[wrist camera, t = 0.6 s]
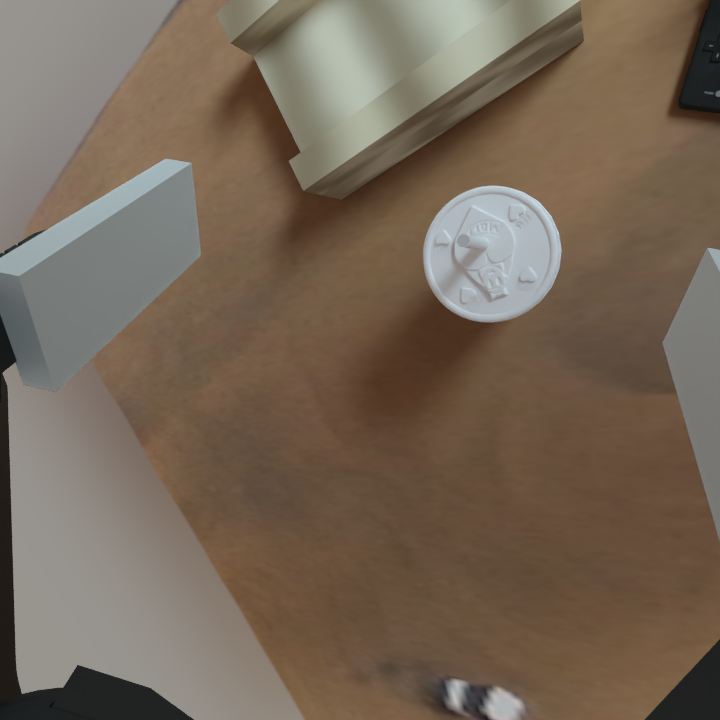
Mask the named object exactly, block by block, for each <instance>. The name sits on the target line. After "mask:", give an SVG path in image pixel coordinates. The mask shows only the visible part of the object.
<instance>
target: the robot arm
mask: <svg viewBox="0 0 720 720" xmlns="http://www.w3.org/2000/svg"><path fill="white" fill-rule="evenodd" d="M200 256H201V250H200V240H199V231H198V221H197V211H196V201H195V191H194V182H193V172H192V163H188V162H182V161H176V160H170V159H164V160H163V161H161V162H159V163H158V164H156V165H154V166H153V167H151V168H149V169H148V170H146V171H144V172H143V173H141V174H139V175H138V176H136V177H134V178H133V179H131V180H129V181H128V182H126V183H124V184H123V185H121V186H119V187H118V188H116V189H114V190H113V191H111V192H109V193H108V194H106V195H104V196H103V197H101V198H99V199H98V200H96V201H94V202H93V203H91V204H89V205H88V206H86V207H84V208H82V209H81V210H79V211H77V212H76V213H74V214H72V215H71V216H69V217H67V218H66V219H64V220H62V221H61V222H59V223H57V224H56V225H54V226H52V227H51V228H49V229H46V230H43V231H40V232H37V233H34V234H33V235H31V236H29V237H28V238H26V239H24V240H23V241H21V242H19V243H18V246H17V245H14V246H12V247H11V248H9V249H7V250H6V251H5V253H4V254H3V253H1V254H0V720H193V719H192V718H191V717H189V716H187V715H186V714H185V713H184V712H182V711H181V710H180V709H178V708H177V707H176V706H174V705H173V704H171V703H170V702H168V701H167V700H166V699H164V698H163V697H162V696H160V695H159V694H158V693H156V692H155V691H154V690H152V689H151V688H148V687H145V686H142V685H139V684H135V683H132V682H129V681H126V680H123V679H120V678H117V677H114V676H110V675H107V674H104V673H101V672H98V671H95V670H92V669H88V668H85V667H82V666H79V665H77V667H76V669H75V670H74V672H73V673H72V675H71V677H70V678H69V680H68V681H67V683H66V684H65V686H64V687H63V688H53V689H45V690H37V691H33V692H29V693H25V694H22V693H21V689H20V686H19V682H18V677H17V671H16V656H15V624H14V590H13V556H12V526H11V525H12V523H11V492H10V491H11V490H10V457H9V425H8V391H7V385H6V382H5V379H4V376H3V374H2V373H3V372H4V371H5V370H6V369H7V368H9V367H10V366H11V365H12V364H14V363H15V362H16V365H17V368H18V370H19V373H20V376H21V379H22V382H23V384H24V385H27V386H31V387H35V388H39V389H44V390H48V391H52V392H57V391H58V390H59V389H60V388H61V387H62V386H63V385H64V384H65V383H66V382H67V381H68V380H69V379H70V378H71V377H72V376H73V375H74V374H76V373H77V372H78V371H79V370H80V369H81V368H82V367H83V366H84V365H85V364H86V363H87V362H88V361H90V360H91V359H92V358H93V357H94V356H95V355H96V354H97V353H98V352H99V351H100V350H101V349H102V348H103V347H104V346H105V345H107V344H108V343H109V342H110V341H111V340H112V339H113V338H114V337H115V336H116V335H117V334H118V333H119V332H120V331H121V330H122V329H123V328H125V327H126V326H127V325H128V324H129V323H130V322H131V321H132V320H133V319H134V318H135V317H136V316H137V315H138V314H139V313H140V312H142V311H143V310H144V309H145V308H146V307H147V306H148V305H149V304H150V303H151V302H152V301H153V300H154V299H155V298H156V297H157V296H158V295H160V294H161V293H162V292H163V291H164V290H165V289H166V288H167V287H168V286H169V285H170V284H171V283H172V282H173V281H174V280H175V279H177V278H178V277H179V276H180V275H181V274H182V273H183V272H184V271H185V270H186V269H187V268H188V267H189V266H190V265H191V264H192V263H194V262H195V261H196V260H197V259H198V258H199V257H200ZM663 347H664V350H665V354H666V357H667V361H668V364H669V368H670V371H671V375H672V378H673V382H674V385H675V389H676V392H677V395H678V399H679V402H680V406H681V409H682V413H683V416H684V420H685V423H686V427H687V430H688V434H689V437H690V440H691V444H692V447H693V451H694V454H695V458H696V461H697V465H698V468H699V472H700V475H701V479H702V482H703V486H704V489H705V492H706V496H707V499H708V503H709V506H710V510H711V513H712V517H713V520H714V524H715V527H716V531H717V534H718V537H719V541H720V250H718V249H712V248H707V249H706V251H705V253H704V256H703V258H702V260H701V262H700V264H699V266H698V268H697V271H696V273H695V275H694V277H693V279H692V281H691V283H690V285H689V288H688V290H687V292H686V294H685V296H684V298H683V300H682V302H681V305H680V307H679V309H678V311H677V313H676V315H675V317H674V319H673V322H672V324H671V326H670V328H669V330H668V332H667V334H666V337H665V339H664V341H663ZM645 720H720V640H719V641H718V642H717V643H716V644H715V645H714V646H713V647H712V648H711V649H710V650H709V651H708V653H707V654H706V655H705V656H704V657H703V658H702V659H701V660H700V661H699V662H698V663H697V664H696V665H695V666H694V667H693V669H692V670H691V671H690V672H689V673H688V674H687V675H686V676H685V677H684V678H683V679H682V680H681V681H680V682H679V684H678V685H677V686H676V687H675V688H674V689H673V690H672V691H671V692H670V693H669V694H668V695H667V696H666V697H665V698H664V700H663V701H662V702H661V703H660V704H659V705H658V706H657V707H656V708H655V709H654V710H653V711H652V712H651V713H650V714H649V716H648V717H647V718H646V719H645Z"/></svg>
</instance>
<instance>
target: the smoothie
mask: <svg viewBox="0 0 720 720" xmlns="http://www.w3.org/2000/svg"><path fill="white" fill-rule="evenodd" d="M561 251H562V250H561V244H560V237H559V232H558V230H557V228H556V225H555V223H554V221H553V219H552V217H551V215H550V214H549V213H548V212H547V210H546V209H545V208H544V207H543V206H542V205H541V204H540V202H538V201H537V200H535V199H534V198H532V197H531V196H529V195H527V194H526V193H524V192H521V191H518V190H515V189H512V188H509V187H503V186H484V187H478V188H474V189H471V190H469V191H466V192H464V193H462V194H460V195H458V196H457V197H455V198H454V199H452V200H451V201H450V202H448V203H447V204H446V205H445V206H444V207H443V208H442V209H441V210H440V212H439V213H438V214H437V215H436V217H435V218H434V220H433V222H432V223H431V225H430V227H429V230H428V232H427V235H426V238H425V242H424V248H423V265H424V271H425V275H426V278H427V281H428V284H429V286H430V288H431V290H432V291H433V293H434V294H435V296H436V297H437V299H438V300H439V301H440V302H441V303H442V304H443V305H444V306H445V307H446V308H448V309H449V310H450V311H452V312H453V313H455V314H457V315H459V316H461V317H463V318H466V319H469V320H473V321H478V322H499V321H505V320H511V319H513V318H515V317H518V316H520V315H522V314H524V313H527V312H528V311H529V310H531V309H532V308H533V307H534V306H536V305H537V304H538V303H539V302H541V301H542V299H543V298H544V297H545V295H546V294H547V293H548V291H549V290H550V289H551V287H552V286H553V283H554V281H555V278H556V276H557V273H558V271H559V267H560V259H561Z"/></svg>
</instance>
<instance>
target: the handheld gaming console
mask: <svg viewBox="0 0 720 720" xmlns="http://www.w3.org/2000/svg"><path fill="white" fill-rule="evenodd" d="M679 107H680V108H683V109H690V110H698V111H706V112H714V113H720V0H710V3H709V7H708V9H706V13H705V16H704V19H703V22H702V25H701V28H700V35H699V38H698V41H697V44H696V48H695V51H694V54H693V57H692V60H691V63H690V66H689V70H688V73H687V76H686V79H685V82H684V85H683V88H682V92H681V95H680V98H679Z"/></svg>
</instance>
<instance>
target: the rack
mask: <svg viewBox="0 0 720 720" xmlns="http://www.w3.org/2000/svg"><path fill="white" fill-rule="evenodd" d="M216 15H217V17H218V19H219V21H220V23H221V25H222V27H223V29H224V31H225V33H226V35H227V37H228V39H229V41H230V43H231V44H233V45H235V46H236V47H238V48H240V49H242V50H243V51H245V52H247V53H248V54H250V55H252V56H253V57H254V59H255V61H256V63H257V65H258V67H259V69H260V71H261V73H262V75H263V77H264V79H265V81H266V83H267V85H268V87H269V89H270V91H271V93H272V95H273V97H274V99H275V101H276V103H277V105H278V108H279V110H280V112H281V114H282V116H283V118H284V120H285V122H286V124H287V126H288V128H289V130H290V132H291V134H292V136H293V138H294V140H295V142H296V144H297V146H298V148H299V150H300V152H301V153H299V154H298V155H296V156H295V157H294V158H292V159H291V160H290V161H289V163H290V165H291V167H292V169H293V171H294V173H295V175H296V177H297V179H298V181H299V183H300V185H301V187H302V189H303V191H306V192H310V193H314V194H318V195H322V196H327V197H331V198H335V199H339V200H342V199H343V198H345V197H346V196H348V195H350V194H351V193H353V192H354V191H356V190H357V189H359V188H360V187H362V186H363V185H365V184H366V183H368V182H369V181H371V180H372V179H374V178H375V177H377V176H378V175H380V174H381V173H383V172H385V171H386V170H388V169H389V168H391V167H392V166H394V165H395V164H397V163H398V162H400V161H401V160H403V159H404V158H406V157H407V156H409V155H410V154H412V153H413V152H415V151H416V150H418V149H420V148H421V147H423V146H424V145H426V144H427V143H429V142H430V141H432V140H433V139H435V138H436V137H438V136H439V135H441V134H442V133H444V132H445V131H447V130H448V129H450V128H451V127H453V126H454V125H456V124H458V123H459V122H461V121H462V120H464V119H465V118H467V117H468V116H470V115H471V114H473V113H474V112H476V111H477V110H479V109H480V108H482V107H483V106H485V105H486V104H488V103H489V102H491V101H493V100H494V99H496V98H497V97H499V96H500V95H502V94H503V93H505V92H506V91H508V90H509V89H511V88H512V87H514V86H515V85H517V84H518V83H520V82H521V81H523V80H524V79H526V78H528V77H529V76H531V75H532V74H534V73H535V72H537V71H538V70H540V69H541V68H543V67H544V66H546V65H547V64H549V63H550V62H552V61H553V60H555V59H556V58H558V57H559V56H561V55H562V54H564V53H566V52H567V51H569V50H570V49H572V48H573V47H575V46H576V45H578V44H579V43H581V42H582V41H584V38H583V28H582V17H581V7H580V0H230V1H229V2H228V3H227V4H226V5H225V6H224V7H223V8H222V9H221V10H220V11H219V12H217V13H216Z"/></svg>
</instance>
